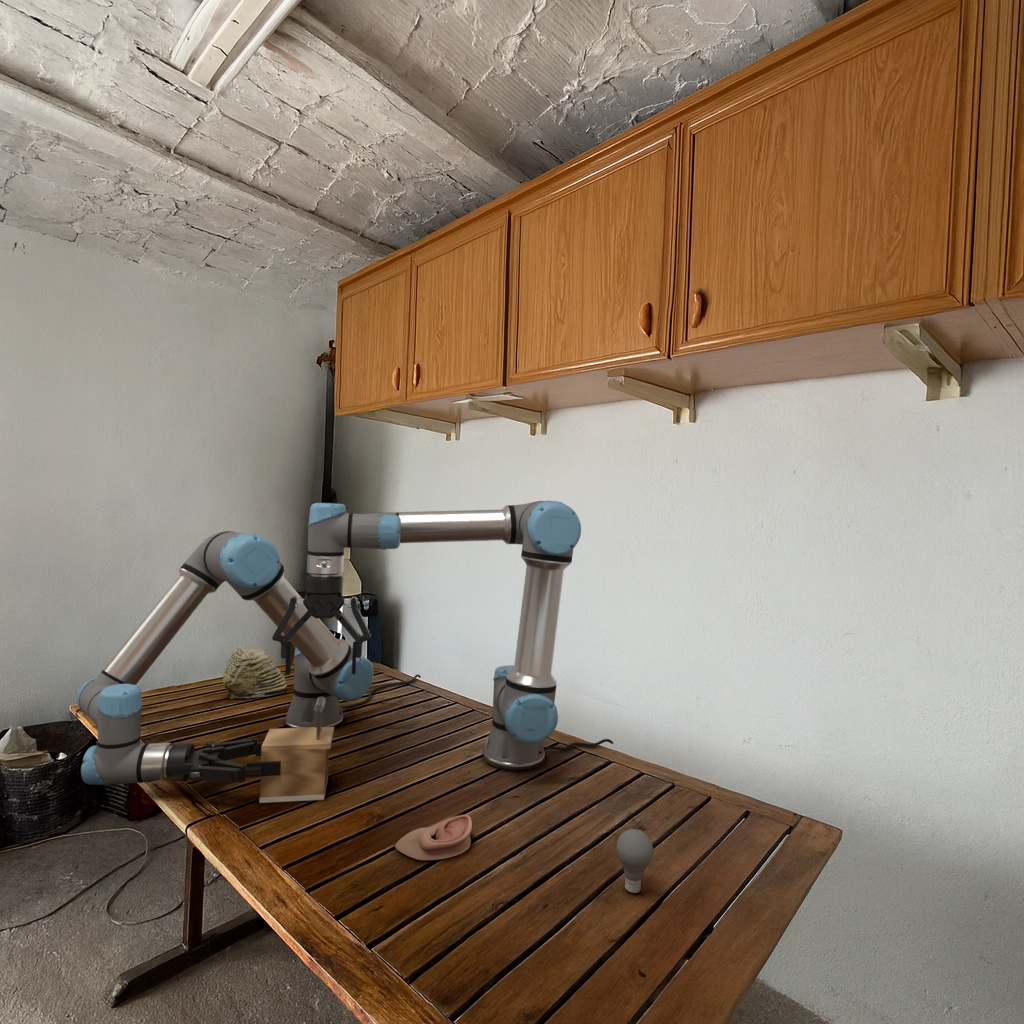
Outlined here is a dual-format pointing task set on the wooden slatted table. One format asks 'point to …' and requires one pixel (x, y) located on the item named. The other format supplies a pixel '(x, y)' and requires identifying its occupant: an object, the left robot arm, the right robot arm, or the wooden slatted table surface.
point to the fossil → (252, 674)
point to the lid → (301, 735)
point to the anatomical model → (438, 839)
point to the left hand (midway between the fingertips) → (283, 757)
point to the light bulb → (634, 857)
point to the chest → (295, 776)
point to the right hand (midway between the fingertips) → (321, 673)
